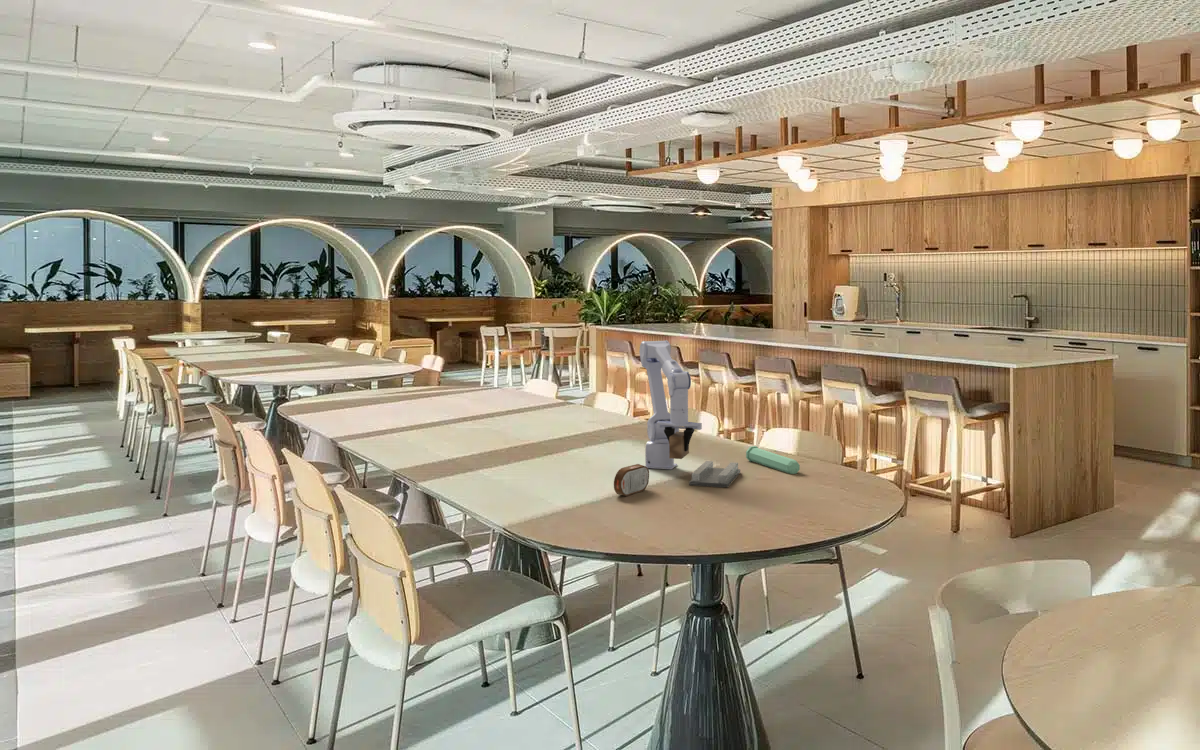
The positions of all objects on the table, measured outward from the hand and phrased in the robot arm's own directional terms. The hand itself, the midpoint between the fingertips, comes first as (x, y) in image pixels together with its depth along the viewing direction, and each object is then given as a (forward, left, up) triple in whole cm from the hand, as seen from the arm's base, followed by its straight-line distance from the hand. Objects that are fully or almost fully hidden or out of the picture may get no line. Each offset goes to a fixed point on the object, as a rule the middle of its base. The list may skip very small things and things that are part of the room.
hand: (679, 450), depth 291 cm
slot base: (+12, 0, -9) cm, 15 cm away
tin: (-8, -26, -9) cm, 29 cm away
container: (+27, +23, -9) cm, 37 cm away
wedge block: (0, 0, -2) cm, 2 cm away
